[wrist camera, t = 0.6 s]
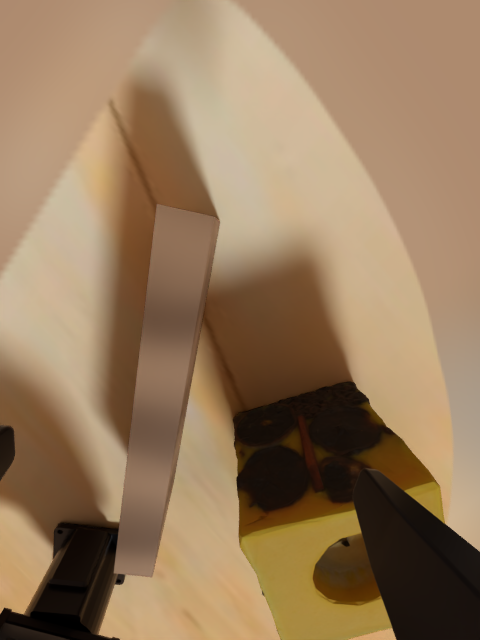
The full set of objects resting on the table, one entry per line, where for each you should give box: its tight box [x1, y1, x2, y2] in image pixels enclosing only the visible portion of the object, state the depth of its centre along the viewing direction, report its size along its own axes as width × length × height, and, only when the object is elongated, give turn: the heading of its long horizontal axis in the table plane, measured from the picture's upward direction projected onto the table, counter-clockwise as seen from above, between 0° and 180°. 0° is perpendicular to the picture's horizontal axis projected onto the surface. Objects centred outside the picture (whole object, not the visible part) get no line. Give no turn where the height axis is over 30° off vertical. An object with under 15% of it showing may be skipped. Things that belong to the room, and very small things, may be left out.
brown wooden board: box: [114, 204, 220, 577], centre depth 18 cm, size 22×2×7 cm, turn 168°
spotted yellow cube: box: [233, 382, 445, 640], centre depth 20 cm, size 10×10×10 cm
